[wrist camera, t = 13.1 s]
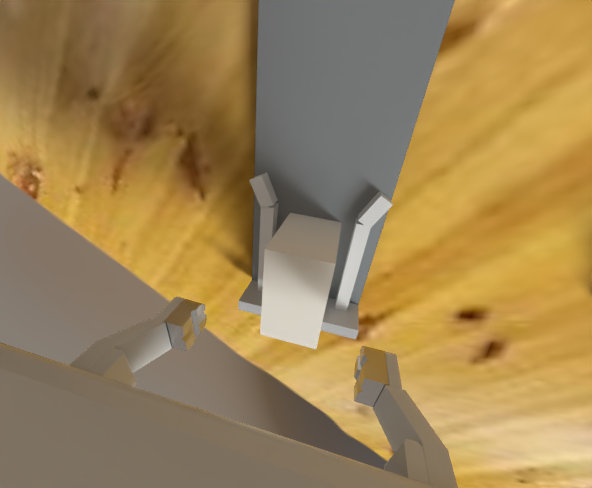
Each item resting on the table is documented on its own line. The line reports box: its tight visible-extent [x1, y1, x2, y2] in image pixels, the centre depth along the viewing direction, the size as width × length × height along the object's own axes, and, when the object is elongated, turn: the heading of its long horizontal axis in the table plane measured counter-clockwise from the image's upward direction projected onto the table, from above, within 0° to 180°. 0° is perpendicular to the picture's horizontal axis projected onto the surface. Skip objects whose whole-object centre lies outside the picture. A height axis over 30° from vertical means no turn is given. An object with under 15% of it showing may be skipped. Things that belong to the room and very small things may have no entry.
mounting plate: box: [239, 0, 455, 339], centre depth 16 cm, size 24×10×4 cm, turn 174°
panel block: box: [260, 213, 341, 349], centre depth 17 cm, size 7×4×6 cm, turn 174°
